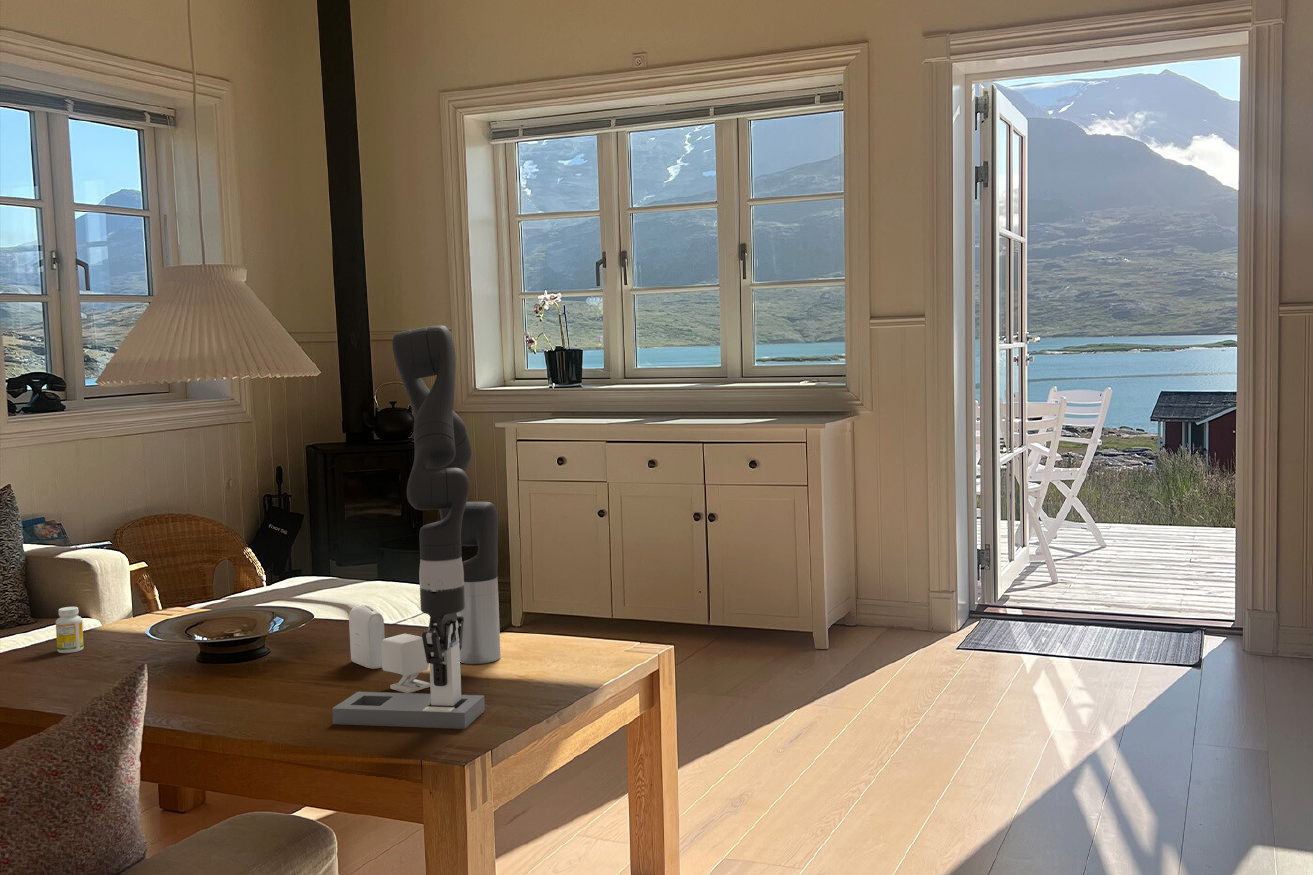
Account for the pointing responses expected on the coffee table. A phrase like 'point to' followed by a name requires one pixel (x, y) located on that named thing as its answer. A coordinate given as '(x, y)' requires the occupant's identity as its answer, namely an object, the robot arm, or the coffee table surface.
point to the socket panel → (406, 710)
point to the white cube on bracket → (405, 661)
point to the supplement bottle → (69, 630)
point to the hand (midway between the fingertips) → (445, 681)
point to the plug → (448, 679)
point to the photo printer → (366, 636)
